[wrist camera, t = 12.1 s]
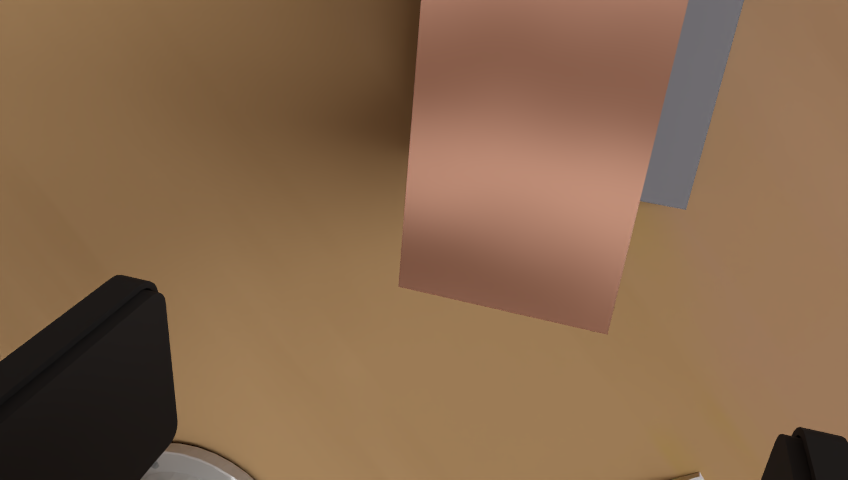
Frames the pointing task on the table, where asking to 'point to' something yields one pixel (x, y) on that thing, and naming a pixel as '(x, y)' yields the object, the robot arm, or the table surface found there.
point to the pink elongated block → (533, 150)
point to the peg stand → (690, 100)
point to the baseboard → (690, 477)
